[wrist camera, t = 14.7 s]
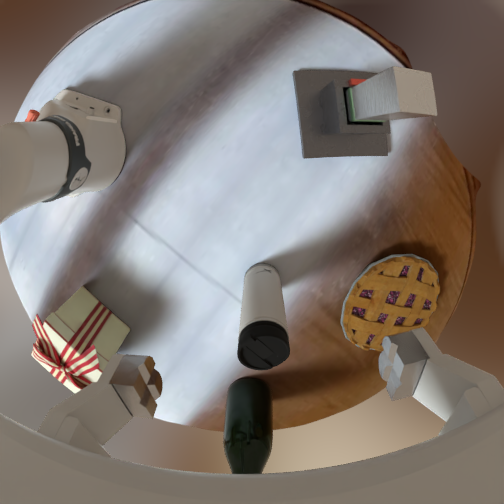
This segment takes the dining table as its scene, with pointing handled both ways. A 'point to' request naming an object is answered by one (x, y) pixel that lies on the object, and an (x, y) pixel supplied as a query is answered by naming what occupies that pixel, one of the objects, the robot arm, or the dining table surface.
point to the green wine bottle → (248, 426)
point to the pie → (389, 300)
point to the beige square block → (391, 97)
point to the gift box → (78, 340)
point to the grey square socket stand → (334, 117)
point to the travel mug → (262, 320)
